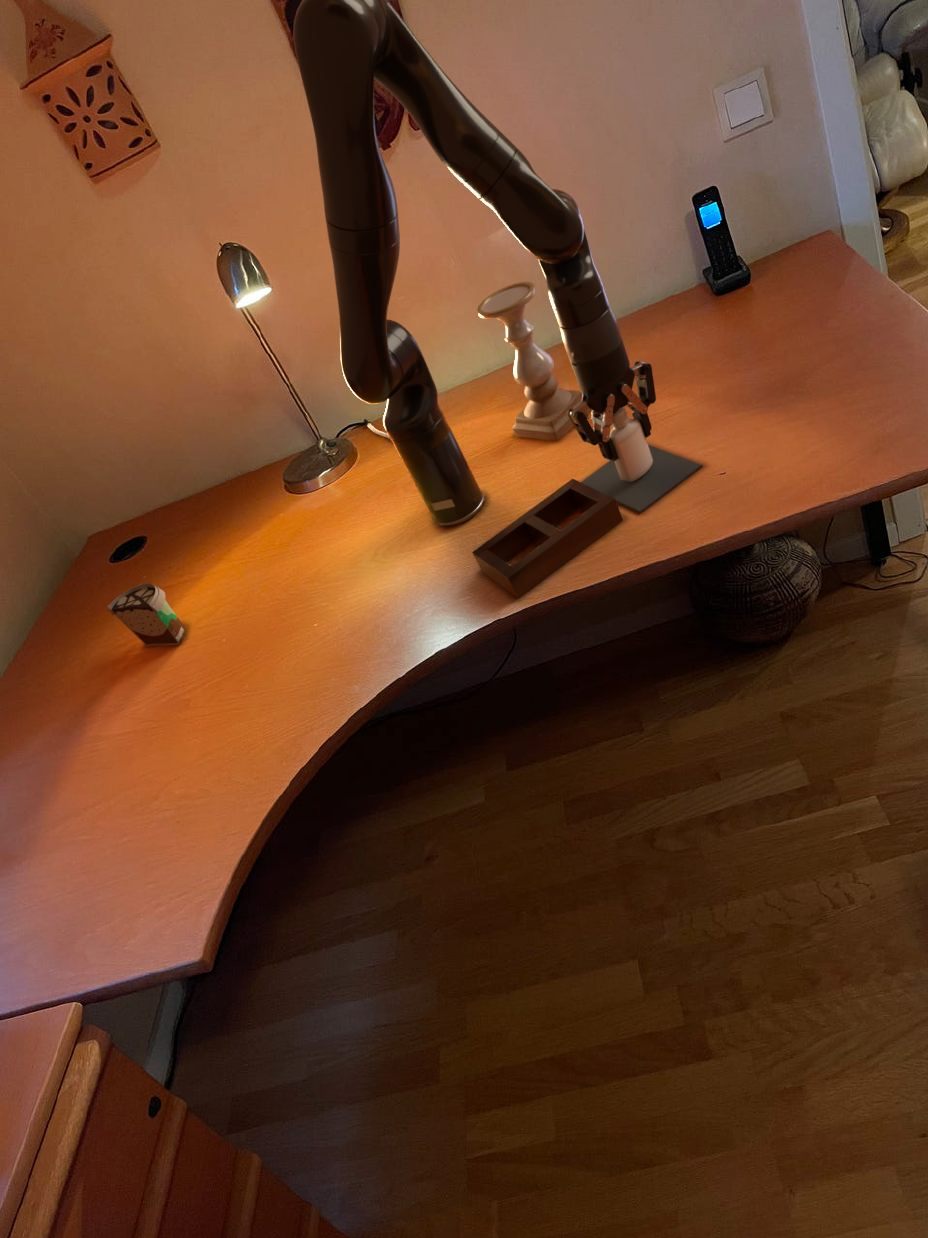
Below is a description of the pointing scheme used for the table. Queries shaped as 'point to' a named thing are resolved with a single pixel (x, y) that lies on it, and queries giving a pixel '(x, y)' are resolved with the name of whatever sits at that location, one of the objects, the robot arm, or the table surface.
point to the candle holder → (531, 367)
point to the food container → (148, 615)
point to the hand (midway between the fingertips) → (628, 446)
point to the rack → (547, 536)
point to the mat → (643, 480)
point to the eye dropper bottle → (630, 447)
